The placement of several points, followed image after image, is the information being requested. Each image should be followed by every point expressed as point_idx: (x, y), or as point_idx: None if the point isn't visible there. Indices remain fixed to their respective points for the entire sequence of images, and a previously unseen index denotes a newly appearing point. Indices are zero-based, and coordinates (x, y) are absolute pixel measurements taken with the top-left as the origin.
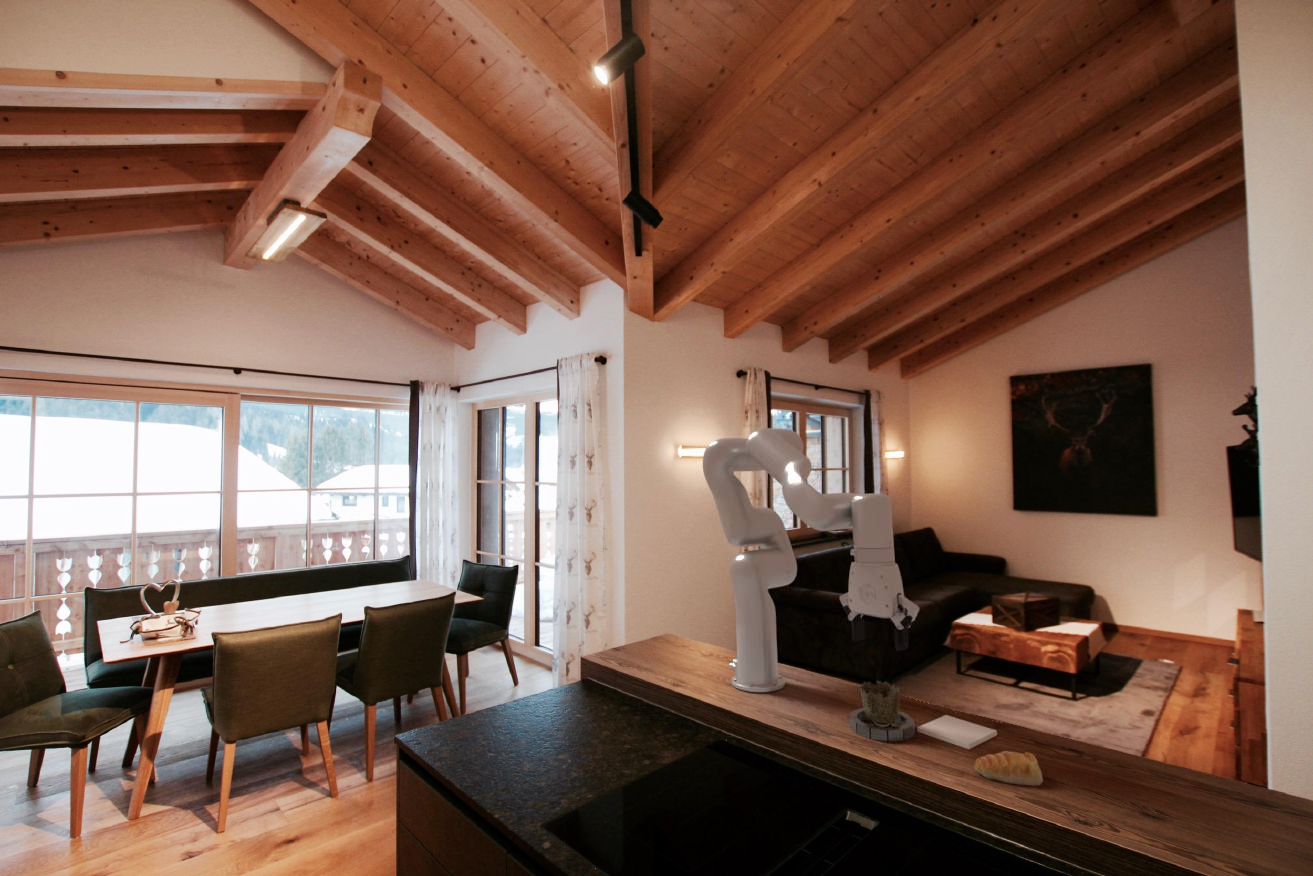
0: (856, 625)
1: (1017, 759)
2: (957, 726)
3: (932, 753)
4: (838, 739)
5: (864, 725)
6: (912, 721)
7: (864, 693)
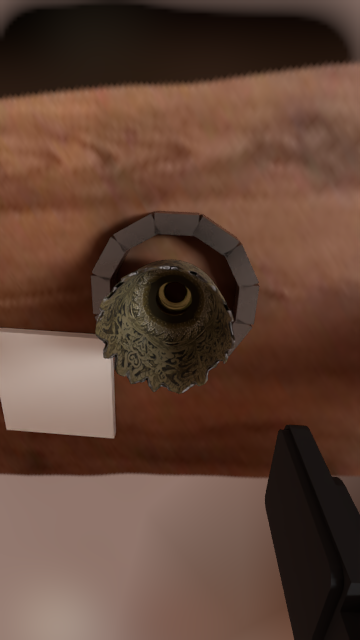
0: (313, 551)
1: None
2: (61, 400)
3: (19, 252)
4: (215, 138)
5: (173, 218)
6: None
7: (187, 269)
